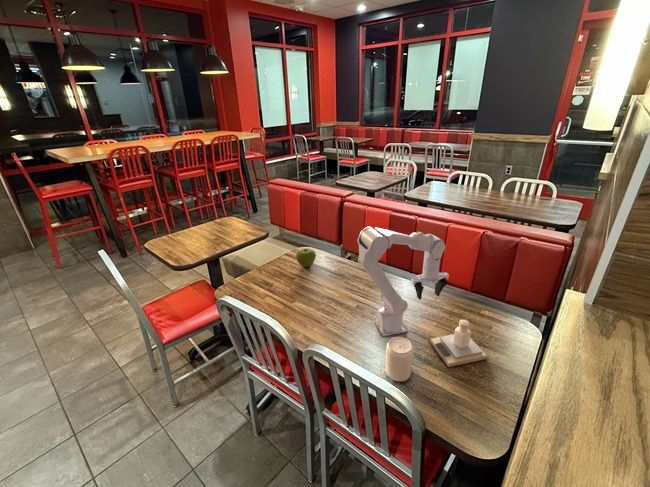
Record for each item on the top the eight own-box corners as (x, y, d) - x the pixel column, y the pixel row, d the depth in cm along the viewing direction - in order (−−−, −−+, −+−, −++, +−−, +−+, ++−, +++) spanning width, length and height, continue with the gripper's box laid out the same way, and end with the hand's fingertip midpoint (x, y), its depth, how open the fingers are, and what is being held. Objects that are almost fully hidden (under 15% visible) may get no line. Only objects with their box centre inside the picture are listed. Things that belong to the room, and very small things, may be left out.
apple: (294, 270, 166) (293, 253, 162) (299, 260, 176) (297, 244, 171) (314, 270, 164) (313, 254, 160) (318, 261, 174) (317, 245, 170)
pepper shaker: (461, 349, 106) (465, 328, 102) (452, 342, 109) (455, 321, 105) (469, 345, 108) (473, 323, 104) (460, 338, 111) (463, 317, 107)
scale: (448, 367, 103) (449, 361, 102) (430, 342, 114) (430, 336, 112) (485, 359, 105) (487, 353, 104) (464, 335, 116) (465, 329, 115)
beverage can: (382, 364, 105) (383, 336, 100) (406, 361, 106) (408, 334, 101) (389, 384, 98) (390, 355, 93) (414, 381, 98) (417, 352, 93)
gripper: (418, 274, 111) (415, 305, 117) (455, 268, 113) (450, 299, 119) (409, 265, 117) (407, 295, 123) (444, 259, 120) (440, 289, 125)
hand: (428, 296), depth 122 cm, fingers open, 7 cm apart
